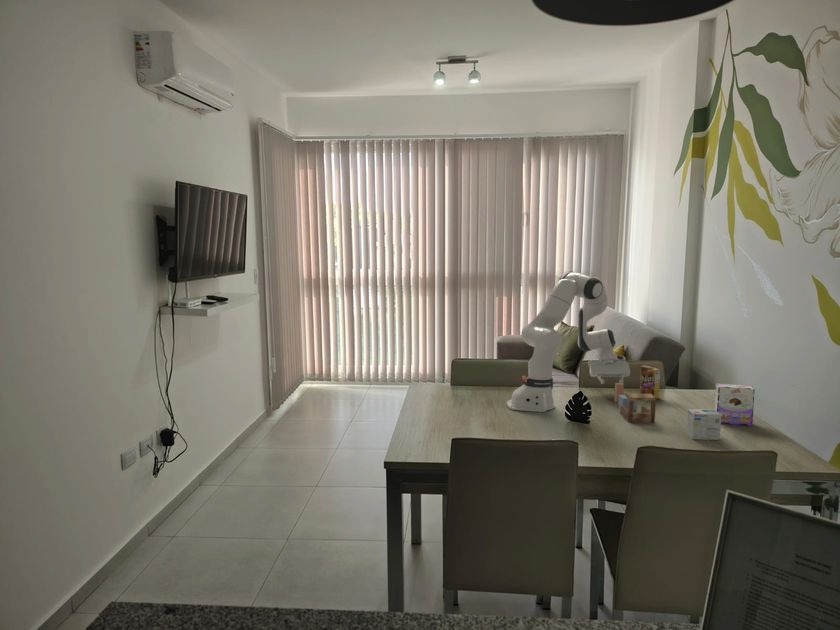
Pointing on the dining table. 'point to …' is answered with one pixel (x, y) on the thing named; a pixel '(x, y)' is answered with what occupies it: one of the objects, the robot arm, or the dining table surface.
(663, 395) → the dining table surface
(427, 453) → the dining table surface
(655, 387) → the candy box
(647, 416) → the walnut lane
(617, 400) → the tethered block
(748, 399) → the candy box
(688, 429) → the light bulb box
